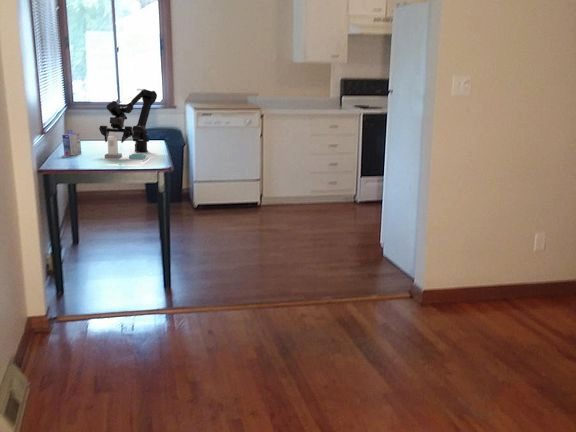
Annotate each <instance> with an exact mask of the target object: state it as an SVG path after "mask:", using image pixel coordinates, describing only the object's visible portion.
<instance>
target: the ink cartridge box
mask: <svg viewBox="0 0 576 432" xmlns="http://www.w3.org/2000/svg"><path fill="white" fill-rule="evenodd" d="M66 132H67V134H62V135H61V136H62V144H63V145H62V146H63V154H64V156H69V157H72V156H75V155H80V154H82V146H81V145H82V144H81V134H80V133H79V132H78V133H77V132H73V131H72V130H71V129H68V130H66Z"/></svg>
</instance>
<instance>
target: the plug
mask: <svg viewBox="0 0 576 432" xmlns="http://www.w3.org/2000/svg"><path fill="white" fill-rule="evenodd" d="M107 138H108V140H107V154H108V155H118V153H119V148H118V147H119V145H118V136H117V135H109V136H108V137H107Z"/></svg>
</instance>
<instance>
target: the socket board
mask: <svg viewBox="0 0 576 432" xmlns="http://www.w3.org/2000/svg"><path fill="white" fill-rule="evenodd" d="M101 159H102V160H122V161H124V160H125V161H142V163H144V162H146V161H148V160H150V157H149V156H147V154H146V153H131V154H129V155H128V156H127V155H123V153H119V152H118V155H108V153H106V154H104V157H103V158H101Z"/></svg>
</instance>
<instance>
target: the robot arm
mask: <svg viewBox="0 0 576 432" xmlns="http://www.w3.org/2000/svg"><path fill="white" fill-rule="evenodd" d="M157 94H158V93H157V91H155V90H148V89H145V88H137V89H136V91H135V92H134V93H133V94H131V95H130V97H129V98H127V100H126V99H125V100H123V101H121V102H120V103H117V101H116V100H112V101H111V102H109V103H108V104H107V105H106V109H107V111H108V112H109V113H110V114H111V117H109V124H110V127H108V125H100V126H99V127H98V130H99V132H100V134H101V135H102V136H103V137H104V142H105V143H108V138H107V137H108V136H110V133H111V132H112V133H121V134H122V133H123V134H122V137H121V140H120V143H121V144H123V143H124V142H125V141H126V140H127V139H129V138H131V137H132V141H133V142H135V143H134V151H135V152H138V153H145V152H146V153H147V152H149V150H148V142H150V137H149V136H148V135H147V132H148V131H147V128H146V126H147V122H148V120H149V115H150V112H151V108H152V105H153V104H154V103H155V102H156V100H157V97H158V95H157ZM140 100H142V107H141V110H140V114H139V116H138V121H137V124H136V125H133V126H131V125H130V126H129V125H128V126H126V125H124V124H125V120H128V117H127V116H126V114H130V113H132V111H133V110H134V106H135V104H137V103H138V102H139V101H140Z"/></svg>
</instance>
